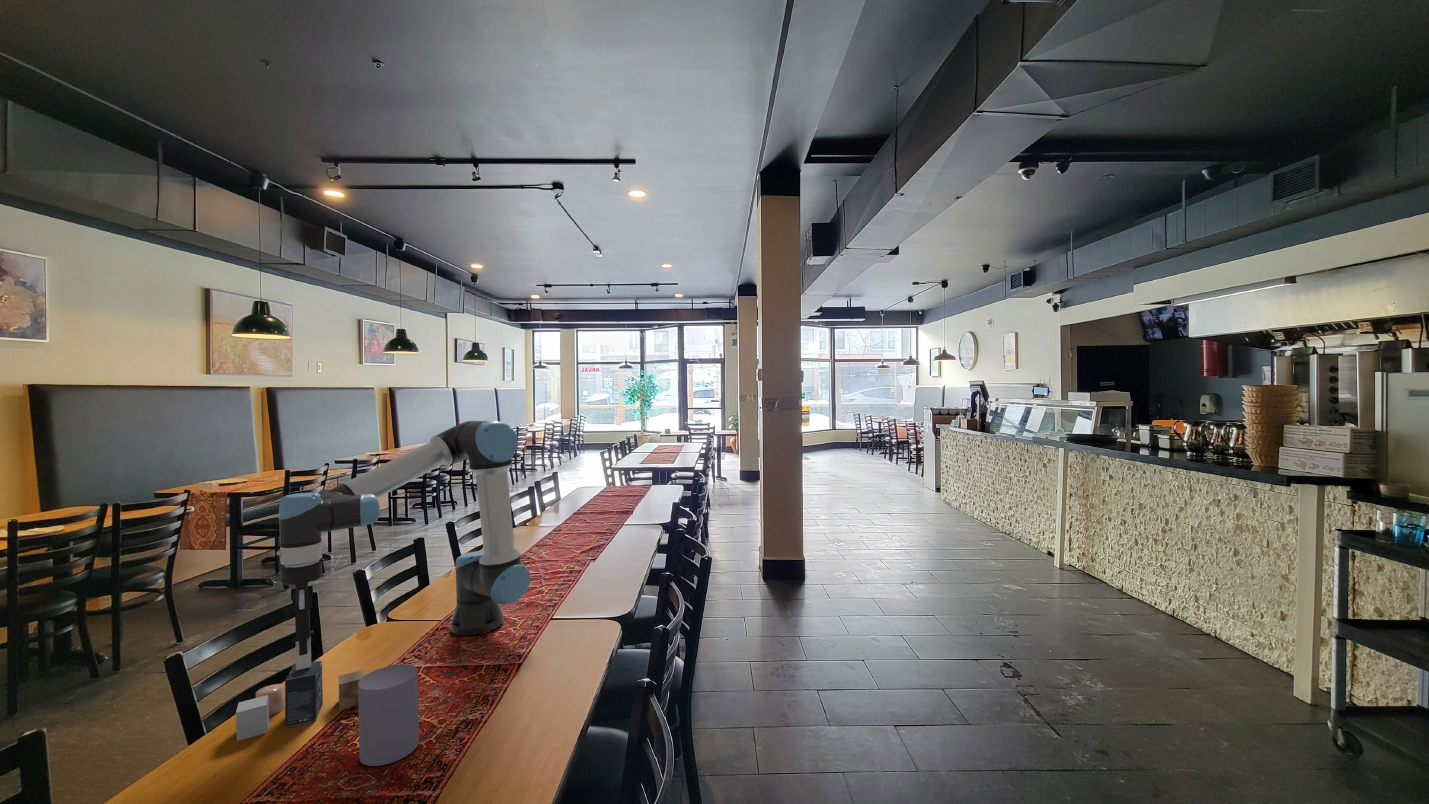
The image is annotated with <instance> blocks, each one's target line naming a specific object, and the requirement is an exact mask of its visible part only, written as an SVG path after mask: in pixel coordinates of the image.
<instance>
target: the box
mask: <svg viewBox="0 0 1429 804" xmlns="http://www.w3.org/2000/svg"><path fill="white" fill-rule="evenodd" d="M323 697H324V694H323V660H317V661H311V667H308V668H303V669H299V670H296V664H295V665H292V668H291V670H290V671H289V674H288V675H287V677H286V678H285V680H284V711H285V713H284V715H285V716H284V719H285V720H284V725H285V728H289V727H296V726H301V725H305V724H310V723H315V722H316V721H317V718H318V716H319V714H320V712H321V709H322V707H323V704H324V703H323V702H324V701H323V700H324V698H323Z"/></svg>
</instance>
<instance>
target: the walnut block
mask: <svg viewBox="0 0 1429 804" xmlns="http://www.w3.org/2000/svg"><path fill="white" fill-rule="evenodd" d="M364 676H365V670H364V669H361V670H356V671H353V672H349V673H345V674H342V675H341V674H340V675H338V704H339V705H338V706H339V711H343V710H347V709H350V708H353V707H357V706H359V701H358V682H359V681H360V679H361V678H362V677H364Z"/></svg>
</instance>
